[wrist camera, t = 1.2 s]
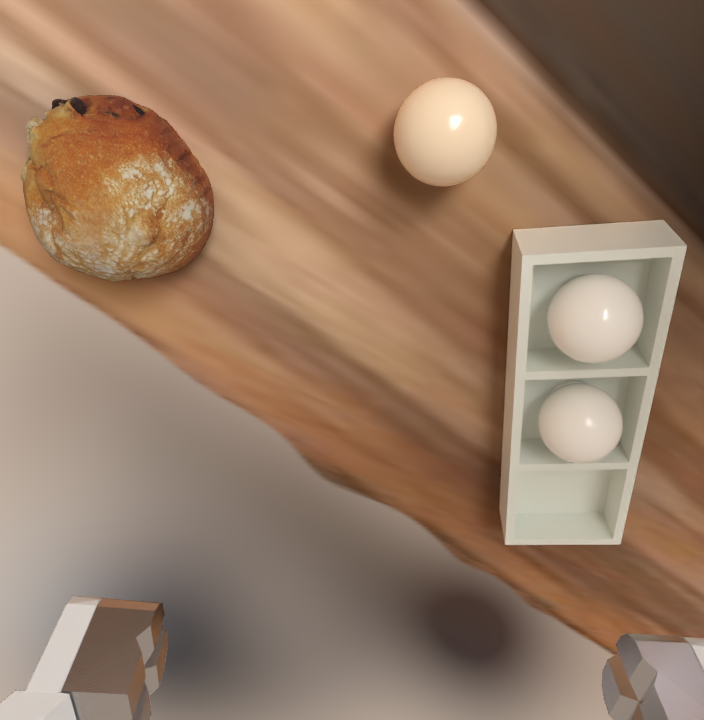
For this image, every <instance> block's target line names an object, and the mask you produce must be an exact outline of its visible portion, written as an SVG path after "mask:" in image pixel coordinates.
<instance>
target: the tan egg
mask: <svg viewBox="0 0 704 720" xmlns="http://www.w3.org/2000/svg"><path fill="white" fill-rule="evenodd" d="M496 137H497V122H496V116H495V113H494V109H493V107H492V105H491V103H490V101H489V100H488V98H487V97H486V95H485V94H484V93H483V92H482V91H481V90H480V89H479V88H477V87H476V86H475V85H473V84H472V83H470V82H468V81H465V80H462V79H459V78H452V77H444V78H437V79H434V80H431V81H428V82H426V83H424V84H422V85H421V86H419V87H417V88H416V89H415V90H414V91H413V92H411V94H410V95H409V96H408V97H407V98H406V99H405V101H404V102H403V104H402V105H401V107H400V109H399V112H398V114H397V117H396V120H395V124H394V145H395V149H396V153H397V155H398V158H399V160H400V162H401V163H402V165H403V166H404V168H405V169H406V170H407V171H408V172H409V173H410V174H411V175H412V176H413V177H415V178H416V179H418V180H419V181H421V182H423V183H426V184H429V185H433V186H453V185H456V184H460V183H462V182H464V181H466V180H468V179H470V178H471V177H473V176H474V175H476V174H477V173H478V172H479V171H480V170H481V169H482V168H483V167H484V165H485V164H486V163H487V161H488V160H489V158H490V156H491V154H492V152H493V149H494V146H495V142H496Z"/></svg>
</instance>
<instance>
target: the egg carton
mask: <svg viewBox="0 0 704 720" xmlns="http://www.w3.org/2000/svg"><path fill="white" fill-rule="evenodd" d="M686 249H687V245H686V244H685V243H684V242H683V240H682V239H681V238H680V237H679V236H678V235H677V234H676V233H675V232H674V231H673V229H672V228H671V227H670V226H669V225H668V224H667V223H666V222H665V221H664V220H650V221H635V222H620V223H605V224H590V225H574V226H559V227H544V228H529V229H514V230H513V239H512V259H511V280H510V300H509V320H508V341H507V361H506V381H505V402H504V422H503V442H502V463H501V483H500V503H499V510H500V517H501V523H502V529H503V535H504V542H505V545H613V544H621V540H622V535H623V531H624V526H625V522H626V517H627V513H628V508H629V504H630V499H631V495H632V490H633V486H634V481H635V477H636V473H637V468H638V464H639V459H640V455H641V450H642V446H643V441H644V437H645V432H646V428H647V423H648V419H649V414H650V410H651V405H652V401H653V396H654V392H655V387H656V383H657V379H658V374H659V370H660V365H661V361H662V356H663V352H664V347H665V343H666V338H667V334H668V329H669V325H670V320H671V316H672V311H673V307H674V302H675V298H676V293H677V289H678V284H679V280H680V276H681V271H682V267H683V262H684V258H685V253H686ZM592 273H601V274H607V275H611V276H614V277H617V278H619V279H621V280H622V281H624V282H625V283H627V284H628V285H629V286H630V287H631V288H632V289H633V290H634V291H635V292H636V294H637V295H638V297H639V299H640V301H641V304H642V308H643V313H644V321H643V327H642V331H641V333H640V336H639V338H638V340H637V341H636V343H635V344H634V345H633V346H632V347H631V348H630V350H629V351H627V352H626V353H625V354H623V355H622V356H620V357H618V358H616V359H614V360H612V361H608V362H604V363H597V364H596V363H584V362H580V361H577V360H574V359H572V358H570V357H568V356H567V355H565V354H564V353H563V352H561V351H560V350H559V349H558V348H557V346H556V345H555V344H554V342H553V340H552V339H551V337H550V334H549V331H548V327H547V312H548V308H549V305H550V302H551V300H552V298H553V297H554V295H555V294H556V292H557V291H558V290H559V289H560V288H561V287H562V286H563V285H564V284H565V283H566V282H567V281H568V280H570V279H571V278H573V277H575V276H578V275H582V274H592ZM569 380H579V381H583V382H585V383H587V384H590V385H593V386H596V387H598V388H600V389H602V390H603V391H605V392H606V393H608V394H609V395H610V396H611V397H612V398H613V399H614V401H615V402H616V403H617V405H618V407H619V409H620V412H621V415H622V420H623V429H622V435H621V438H620V440H619V442H618V444H617V445H616V447H615V448H614V450H613V451H612V452H611V453H609V454H608V455H607V456H605V457H604V458H602V459H600V460H598V461H595V462H591V463H573V462H569V461H566V460H563V459H561V458H559V457H558V456H556V455H555V454H553V453H552V452H551V451H550V450H549V449H548V448H547V447H546V445H545V444H544V442H543V441H542V439H541V436H540V434H539V430H538V414H539V410H540V407H541V405H542V403H543V402H544V400H545V399H546V398H547V397H548V394H549V392H550V391H551V390H552V389H553V388H554V387H555V386H556V385H558V384H560V383H562V382H564V381H569Z"/></svg>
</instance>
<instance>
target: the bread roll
mask: <svg viewBox="0 0 704 720" xmlns="http://www.w3.org/2000/svg"><path fill="white" fill-rule="evenodd" d="M44 114H45V116H46V119H42V118H39V117H32V118H31V120H30V121H29V122H28V124H27V125H26V138H27V140H28V143H29V145H30V146H29V153H28V157H26V164H27V165H26V166H25V167H24V168H23V170H22V172H21V179H22V180H23V192H24V197H25V203H26V209H27V213H28V216H29V220H30V223H31V225H32V228H33V230H34V233H35V235H36V237H37V239H38V241H39V242H40V243H41V244H42V246H43V247H44V248H45V249H46V251H47V252H48V253H49V254H50V255H51V256H52V257H53V258H54V259H55V260H56V261H58V262H59V263H61V264H64V265H66V266H67V267H69V268H71V269H74V270H76V271H79V272H82V273H86V274H89V275H91V276H94V277H97V278H100V279H107V280H110V281H112V282H115V281H121V280H131V279H132V277H134V278H135V279H142V278H151V277H157V276H160V275H163V274H168V273H172V272H174V271H176V270H179V269H181V268H183V267H184V266H186V265H188V264H189V263H190V262H191V261H192V260H193V259H194V258H195V257H197V256H198V254H199V253H200V252H201V250H202V249H203V247H204V246H205V244H206V242H207V240H208V238H209V235H210V232H211V229H212V223H213V218H214V205H213V192H212V188H211V184H210V182H209V179H208V176H207V174H206V173H205V171H204V169H203V168H202V167H201V166H200V164H199V162H198V159H197V158H196V157H195V156H194V155H193V154H192V152H191V150H190V149H189V147H188V146H187V145H186V144H185V142H184V141H183V140H182V139H181V137H180V136H179V135H178V133H177V132H176V131H175V130H174V128H173V127H172V126H171V125H170V124H169V123H168V122H167V121H166V120H165V119H163V118H161V117H160V116H158V115H157V114H156V113H155V112H154V111H153V110H151V109H149V108H147V107H144V106H141V105H138V104H136V103H134V102H132V101H130V100H128V99H126V98H124V97H120V96H112V95H98V96H93V95H88V96H81V97H74V98H71V99H68V100H62V99H55V100H53V101H52V110H49V111H46V112H44Z"/></svg>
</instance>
